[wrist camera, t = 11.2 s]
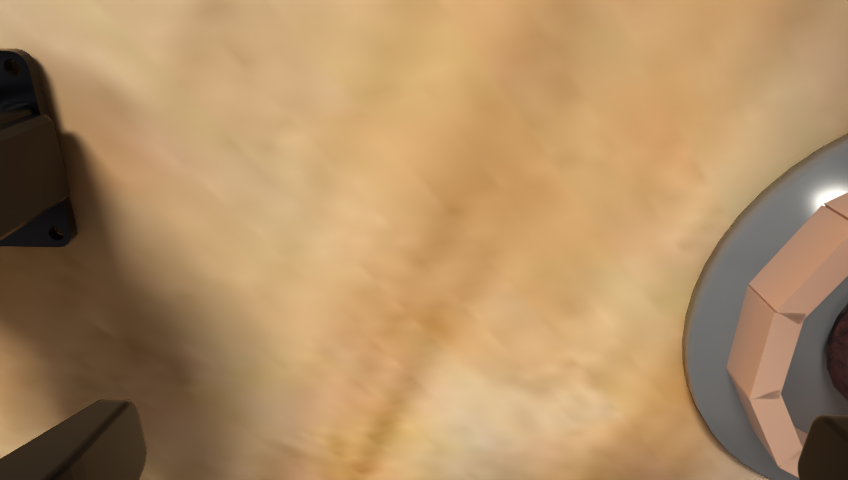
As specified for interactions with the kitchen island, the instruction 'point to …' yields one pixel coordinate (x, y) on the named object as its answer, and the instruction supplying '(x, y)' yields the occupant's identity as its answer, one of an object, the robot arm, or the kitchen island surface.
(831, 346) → the can
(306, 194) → the kitchen island surface
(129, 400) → the robot arm
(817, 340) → the ring tray
